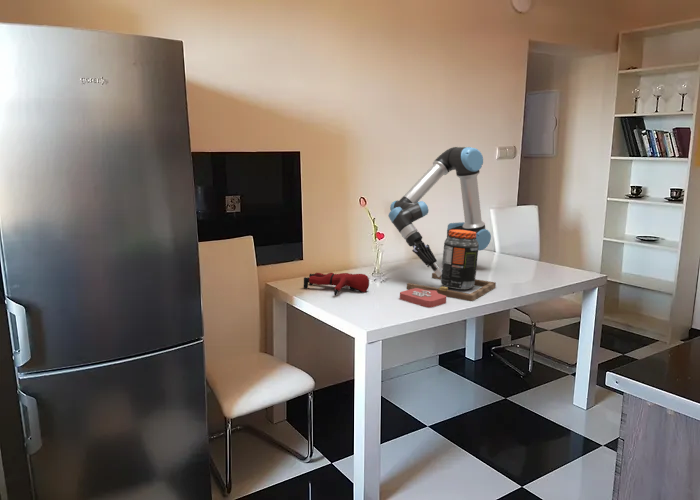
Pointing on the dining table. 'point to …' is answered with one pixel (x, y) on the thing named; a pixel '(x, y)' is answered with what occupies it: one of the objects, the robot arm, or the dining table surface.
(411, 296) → the plaque
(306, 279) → the toy
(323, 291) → the dining table surface
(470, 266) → the supplement tub
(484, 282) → the beam slot
